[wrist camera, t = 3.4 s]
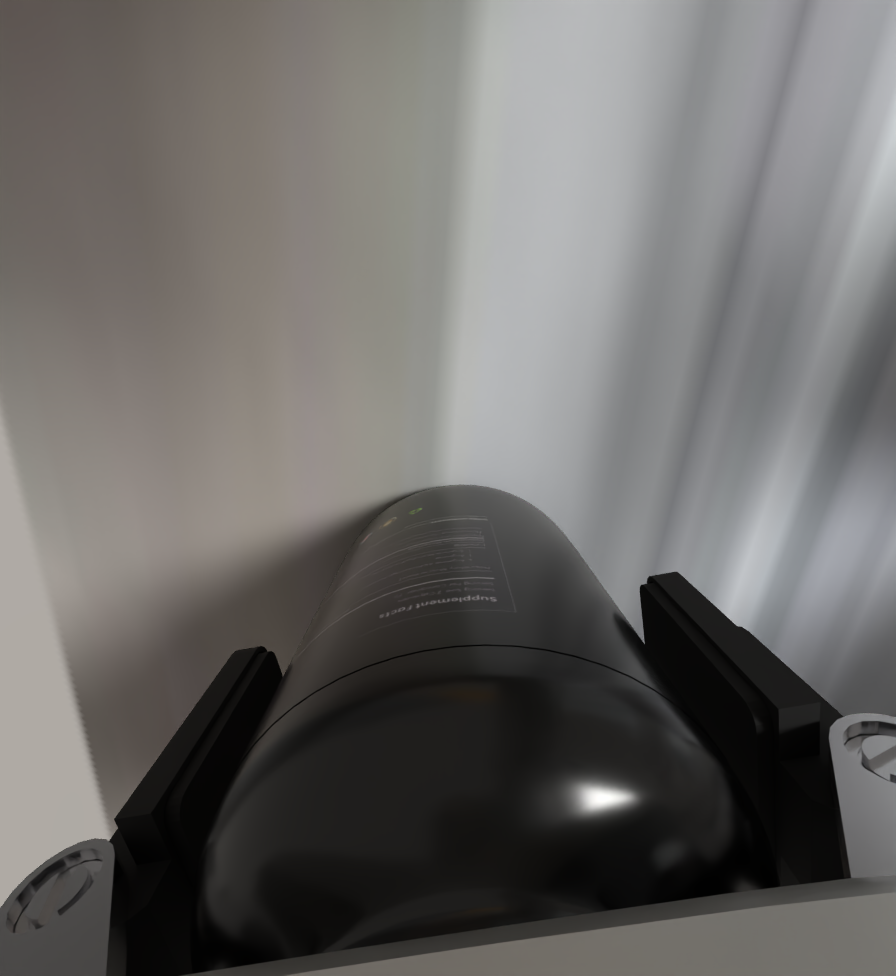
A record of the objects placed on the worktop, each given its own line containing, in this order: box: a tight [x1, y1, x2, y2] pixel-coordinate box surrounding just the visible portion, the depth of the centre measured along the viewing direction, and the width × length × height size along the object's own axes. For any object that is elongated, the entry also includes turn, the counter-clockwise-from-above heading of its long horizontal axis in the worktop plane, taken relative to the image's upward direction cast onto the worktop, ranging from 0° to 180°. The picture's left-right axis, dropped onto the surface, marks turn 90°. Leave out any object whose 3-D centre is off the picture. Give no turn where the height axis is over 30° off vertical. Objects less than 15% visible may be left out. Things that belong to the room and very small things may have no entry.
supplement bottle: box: [190, 485, 781, 974], centre depth 8 cm, size 7×7×12 cm
